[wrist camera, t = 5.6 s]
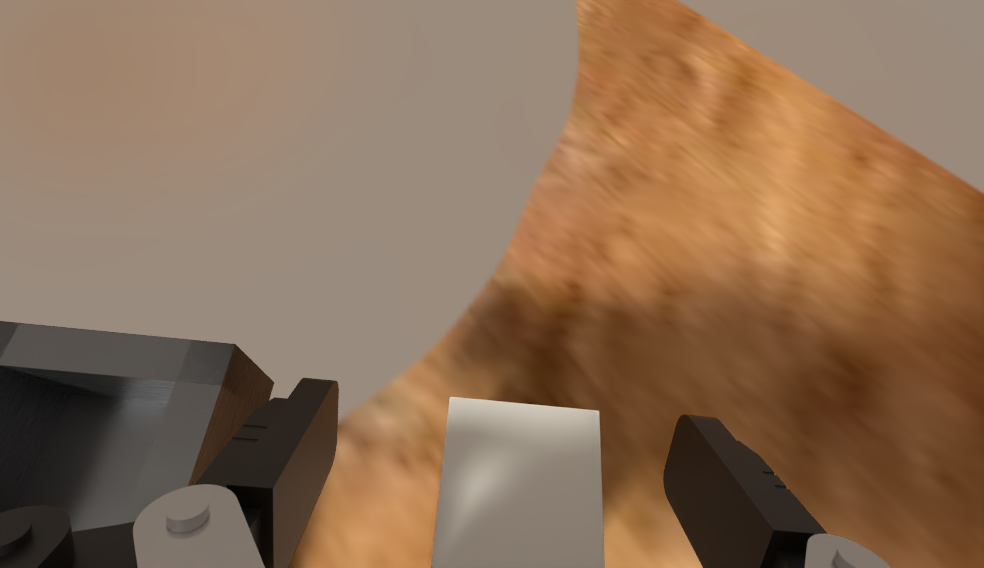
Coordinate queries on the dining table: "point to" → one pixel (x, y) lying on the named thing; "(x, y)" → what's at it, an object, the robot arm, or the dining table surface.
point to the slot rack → (114, 417)
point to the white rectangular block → (519, 487)
